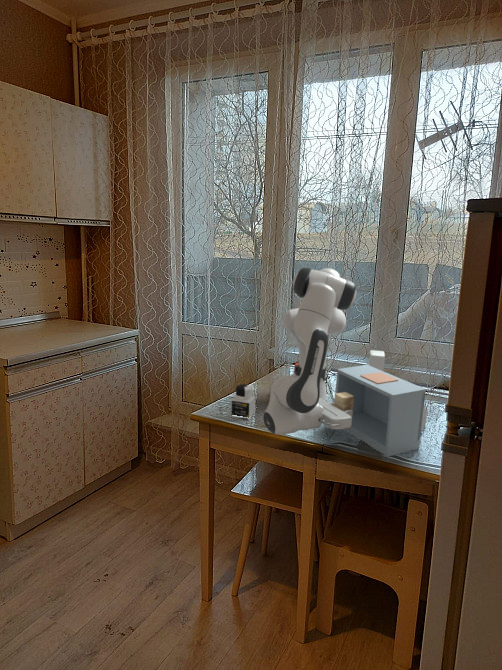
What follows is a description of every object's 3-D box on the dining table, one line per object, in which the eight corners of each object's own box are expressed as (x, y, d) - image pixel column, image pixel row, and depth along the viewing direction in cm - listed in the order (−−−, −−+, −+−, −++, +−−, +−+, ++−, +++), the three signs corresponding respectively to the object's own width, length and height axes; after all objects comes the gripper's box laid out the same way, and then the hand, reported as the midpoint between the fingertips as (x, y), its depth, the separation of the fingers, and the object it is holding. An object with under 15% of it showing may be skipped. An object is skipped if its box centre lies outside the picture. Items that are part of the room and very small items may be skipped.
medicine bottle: (231, 417, 182) (231, 387, 179) (238, 410, 189) (238, 381, 186) (248, 420, 180) (249, 390, 177) (255, 413, 186) (255, 384, 183)
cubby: (387, 456, 154) (393, 394, 149) (333, 422, 179) (337, 368, 174) (419, 448, 160) (426, 388, 155) (362, 416, 185) (367, 363, 180)
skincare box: (367, 381, 227) (369, 349, 223) (381, 382, 226) (384, 350, 222) (367, 387, 219) (370, 354, 215) (382, 388, 218) (385, 355, 214)
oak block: (340, 429, 159) (343, 398, 156) (332, 424, 163) (334, 393, 160) (351, 426, 161) (354, 396, 158) (343, 421, 165) (345, 391, 162)
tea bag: (425, 426, 178) (428, 401, 176) (420, 432, 173) (423, 406, 170) (415, 423, 180) (417, 398, 178) (410, 429, 175) (413, 404, 172)
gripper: (330, 417, 145) (366, 410, 151) (295, 395, 163) (328, 390, 169) (329, 437, 146) (364, 429, 152) (294, 412, 164) (327, 406, 170)
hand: (345, 408), depth 161 cm, fingers closed on oak block, 4 cm apart
